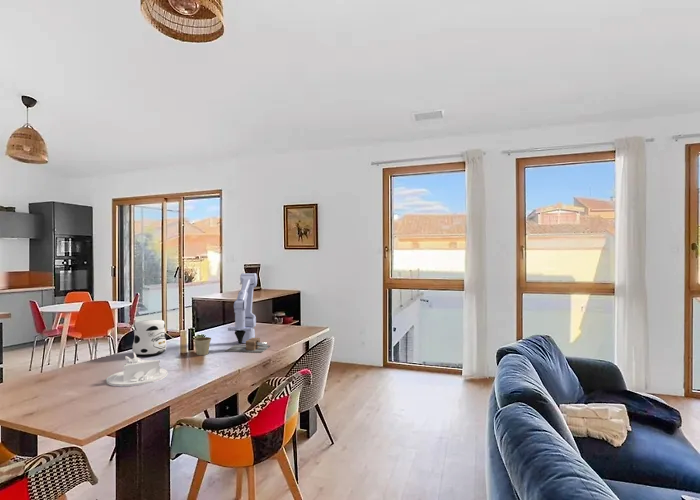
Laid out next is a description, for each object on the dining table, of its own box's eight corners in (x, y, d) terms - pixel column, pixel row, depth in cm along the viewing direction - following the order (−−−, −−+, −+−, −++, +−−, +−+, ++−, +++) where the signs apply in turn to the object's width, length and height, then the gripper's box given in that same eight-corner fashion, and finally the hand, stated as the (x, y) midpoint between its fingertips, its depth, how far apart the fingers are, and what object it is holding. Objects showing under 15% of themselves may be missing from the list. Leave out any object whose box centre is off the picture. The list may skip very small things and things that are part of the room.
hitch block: (235, 345, 251) (235, 336, 251) (270, 346, 249) (270, 337, 249) (224, 351, 235) (224, 341, 235) (261, 352, 233) (261, 342, 233)
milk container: (165, 356, 226) (165, 323, 226) (130, 359, 219) (130, 325, 219) (167, 349, 242) (167, 318, 242) (134, 351, 235) (134, 320, 235)
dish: (98, 389, 172) (98, 362, 172) (116, 372, 196) (116, 349, 196) (161, 384, 178) (162, 358, 178) (171, 368, 202) (171, 345, 202)
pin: (248, 346, 244) (248, 339, 244) (267, 347, 243) (267, 340, 243) (246, 348, 240) (246, 341, 240) (265, 348, 239) (265, 341, 239)
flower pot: (207, 356, 225) (207, 340, 225) (190, 356, 225) (190, 340, 225) (213, 352, 234) (213, 337, 234) (197, 352, 234) (197, 337, 235)
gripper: (225, 321, 240) (225, 344, 240) (249, 321, 238) (249, 345, 238) (230, 319, 247) (230, 341, 247) (253, 319, 245) (253, 342, 245)
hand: (240, 343), depth 243 cm, fingers closed
